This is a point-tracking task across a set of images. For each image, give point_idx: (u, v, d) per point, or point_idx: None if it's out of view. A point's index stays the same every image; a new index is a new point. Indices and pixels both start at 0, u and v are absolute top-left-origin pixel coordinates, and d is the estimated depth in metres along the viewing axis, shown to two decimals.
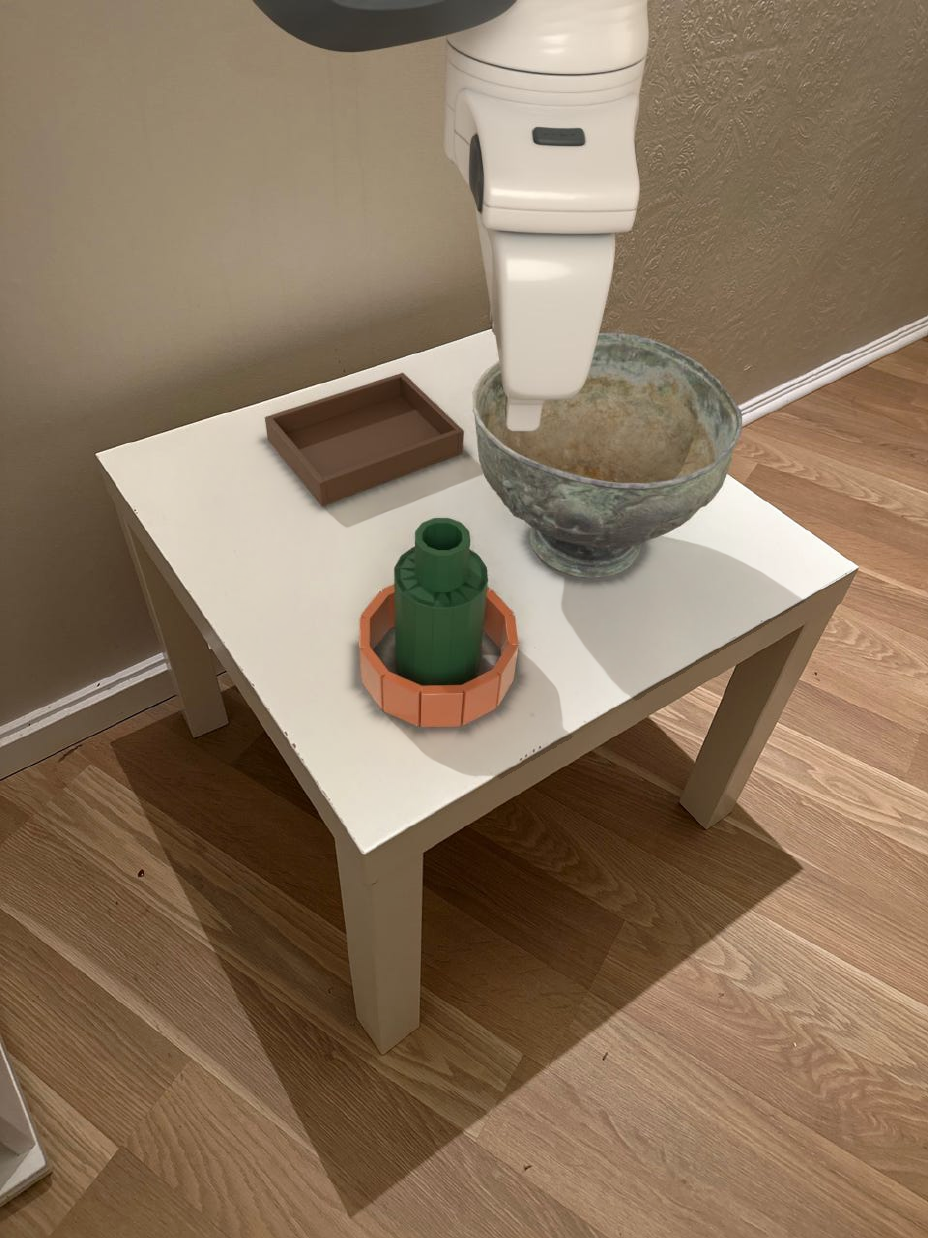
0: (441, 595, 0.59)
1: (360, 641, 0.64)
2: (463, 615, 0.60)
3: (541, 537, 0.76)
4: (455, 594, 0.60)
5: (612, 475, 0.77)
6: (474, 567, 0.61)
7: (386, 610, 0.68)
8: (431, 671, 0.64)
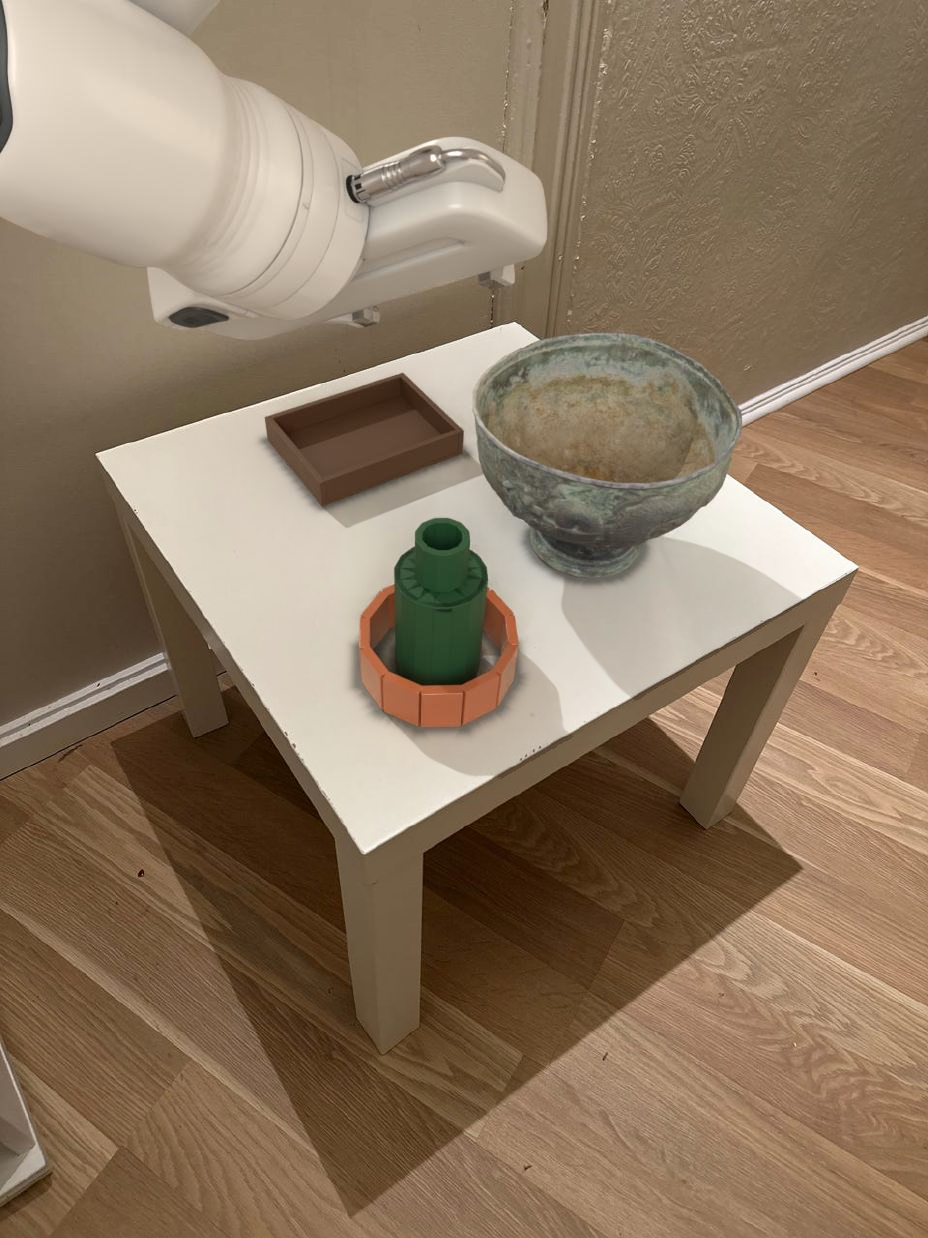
0: (441, 595, 0.59)
1: (360, 641, 0.64)
2: (463, 615, 0.60)
3: (541, 537, 0.76)
4: (455, 594, 0.60)
5: (612, 475, 0.77)
6: (474, 567, 0.61)
7: (386, 610, 0.68)
8: (431, 671, 0.64)
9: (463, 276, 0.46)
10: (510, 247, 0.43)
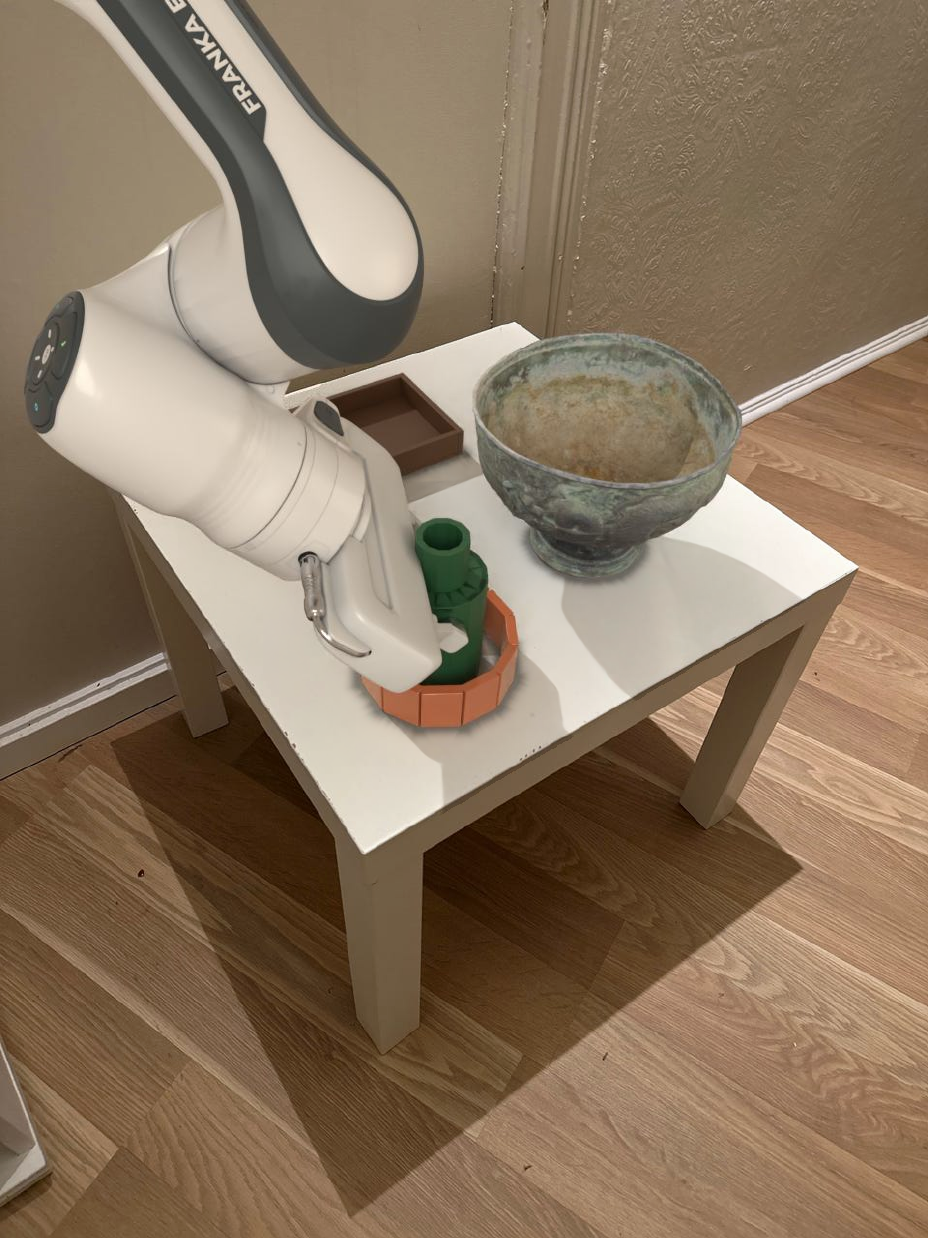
0: (441, 595, 0.59)
1: None
2: (463, 615, 0.60)
3: (541, 537, 0.76)
4: (455, 594, 0.60)
5: (612, 475, 0.77)
6: (474, 567, 0.61)
7: None
8: None
9: None
10: None
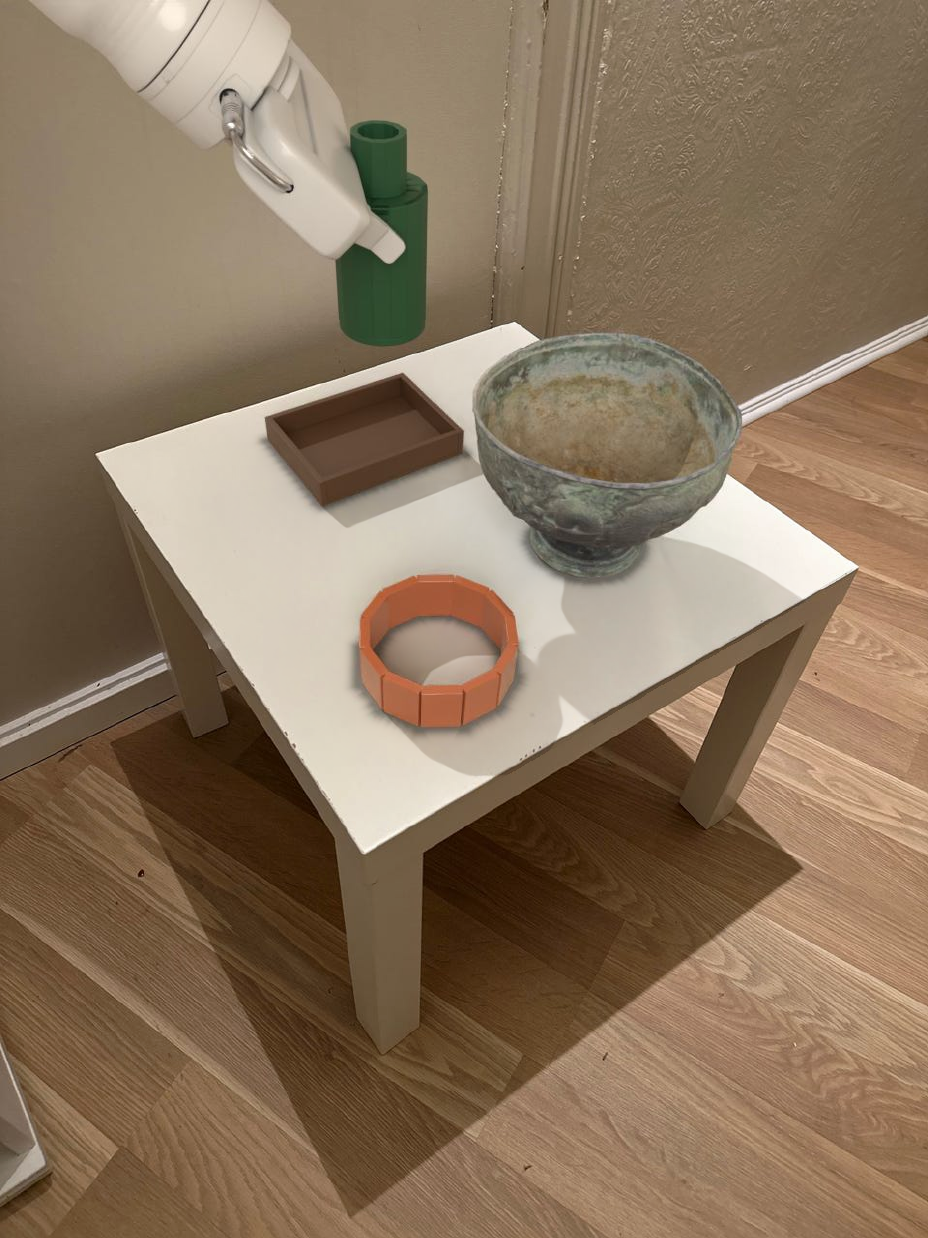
0: (378, 200, 0.58)
1: (360, 641, 0.64)
2: (401, 224, 0.58)
3: (541, 537, 0.76)
4: (393, 200, 0.58)
5: (612, 475, 0.77)
6: (414, 184, 0.60)
7: (386, 610, 0.68)
8: (372, 305, 0.62)
9: None
10: None
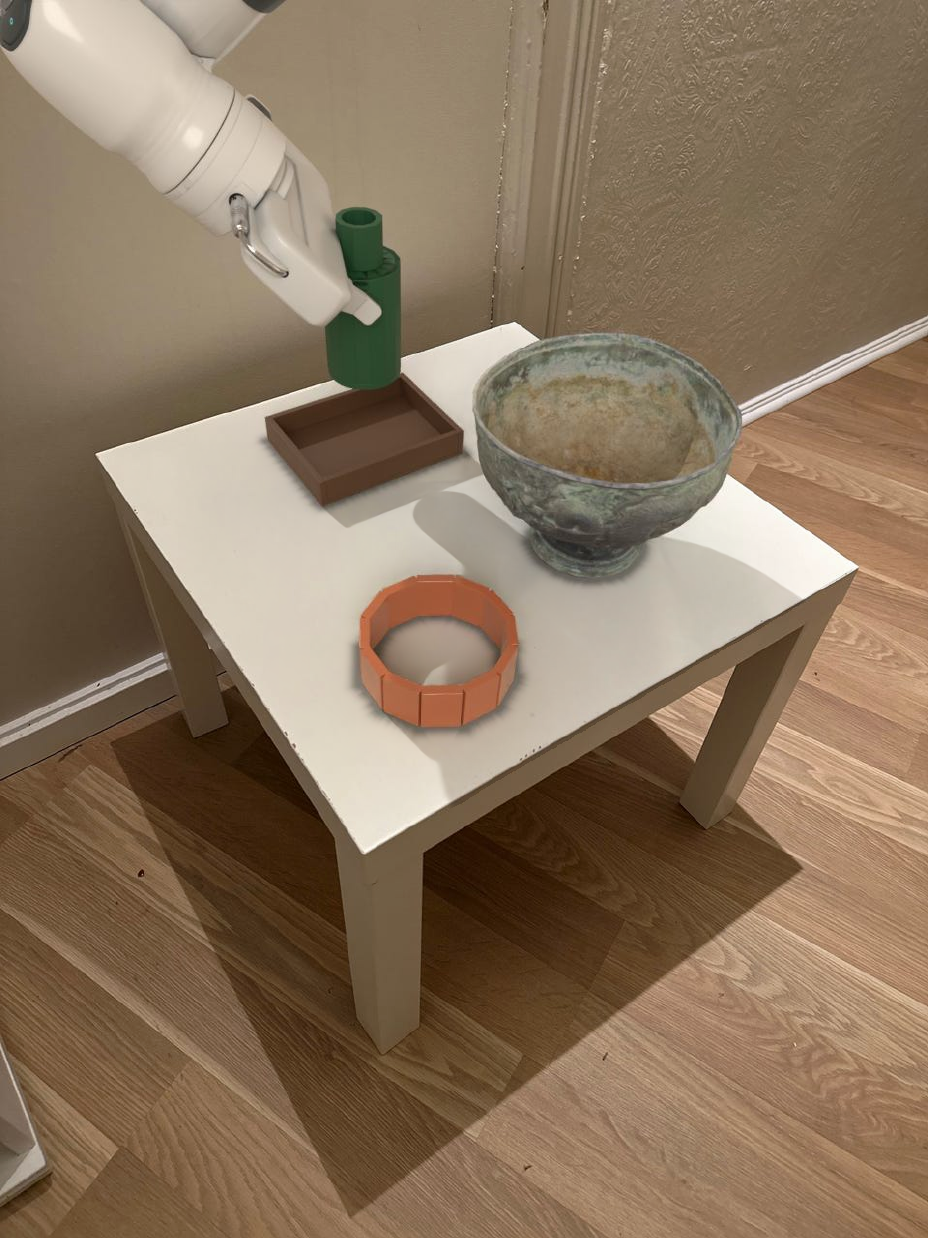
0: (359, 273, 0.70)
1: (360, 641, 0.64)
2: (378, 292, 0.70)
3: (541, 537, 0.76)
4: (371, 272, 0.70)
5: (612, 475, 0.77)
6: (389, 257, 0.72)
7: (386, 610, 0.68)
8: (355, 357, 0.74)
9: None
10: None
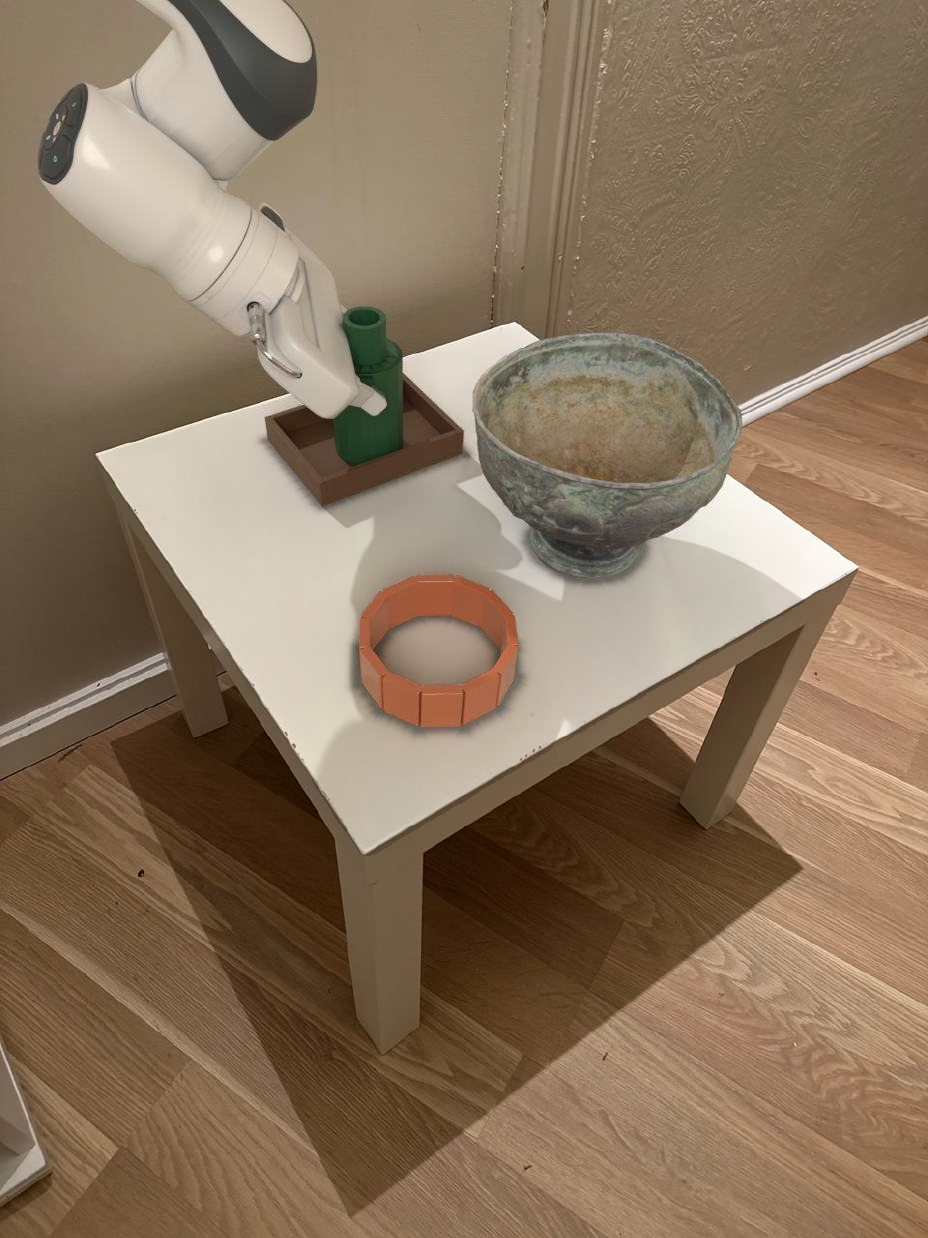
0: (365, 367, 0.76)
1: (360, 641, 0.64)
2: (382, 383, 0.77)
3: (541, 537, 0.76)
4: (376, 366, 0.76)
5: (612, 475, 0.77)
6: (392, 350, 0.78)
7: (386, 610, 0.68)
8: (361, 439, 0.80)
9: None
10: None
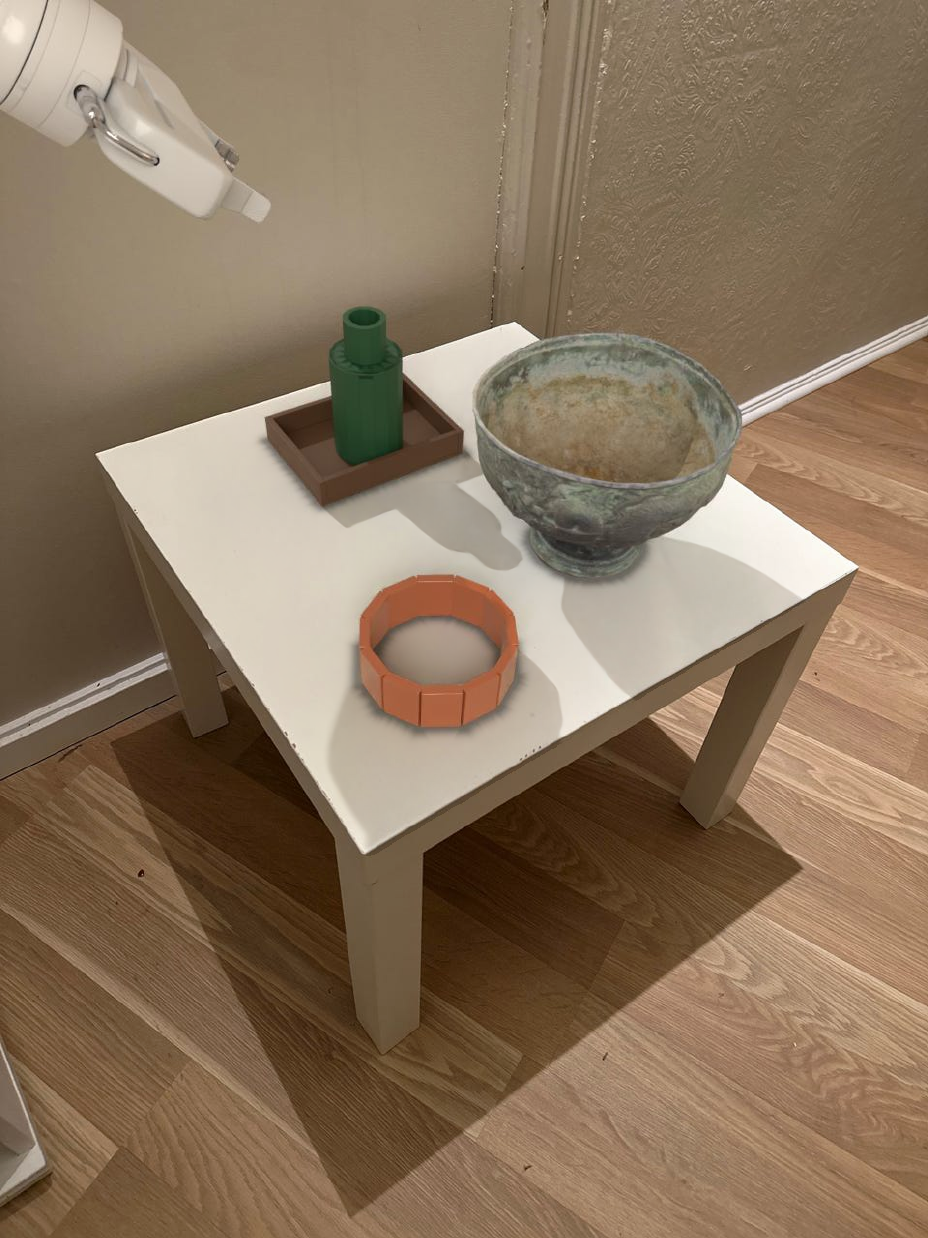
0: (365, 367, 0.76)
1: (360, 641, 0.64)
2: (382, 383, 0.77)
3: (541, 537, 0.76)
4: (376, 366, 0.76)
5: (612, 475, 0.77)
6: (392, 350, 0.78)
7: (386, 610, 0.68)
8: (361, 439, 0.80)
9: None
10: None
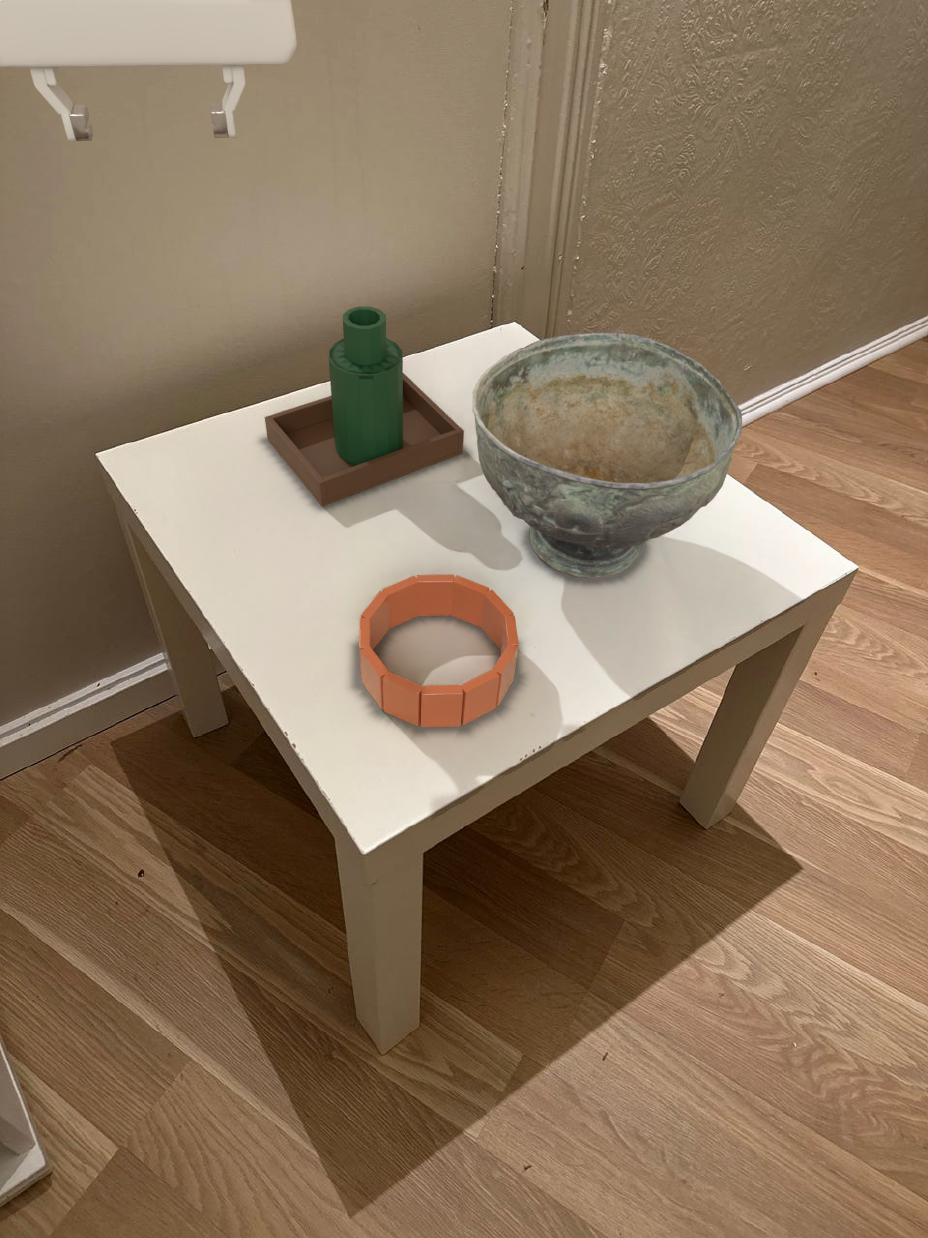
0: (365, 367, 0.76)
1: (360, 641, 0.64)
2: (382, 383, 0.77)
3: (541, 537, 0.76)
4: (376, 366, 0.76)
5: (612, 475, 0.77)
6: (392, 350, 0.78)
7: (386, 610, 0.68)
8: (361, 439, 0.80)
9: (219, 53, 0.56)
10: (274, 23, 0.55)
